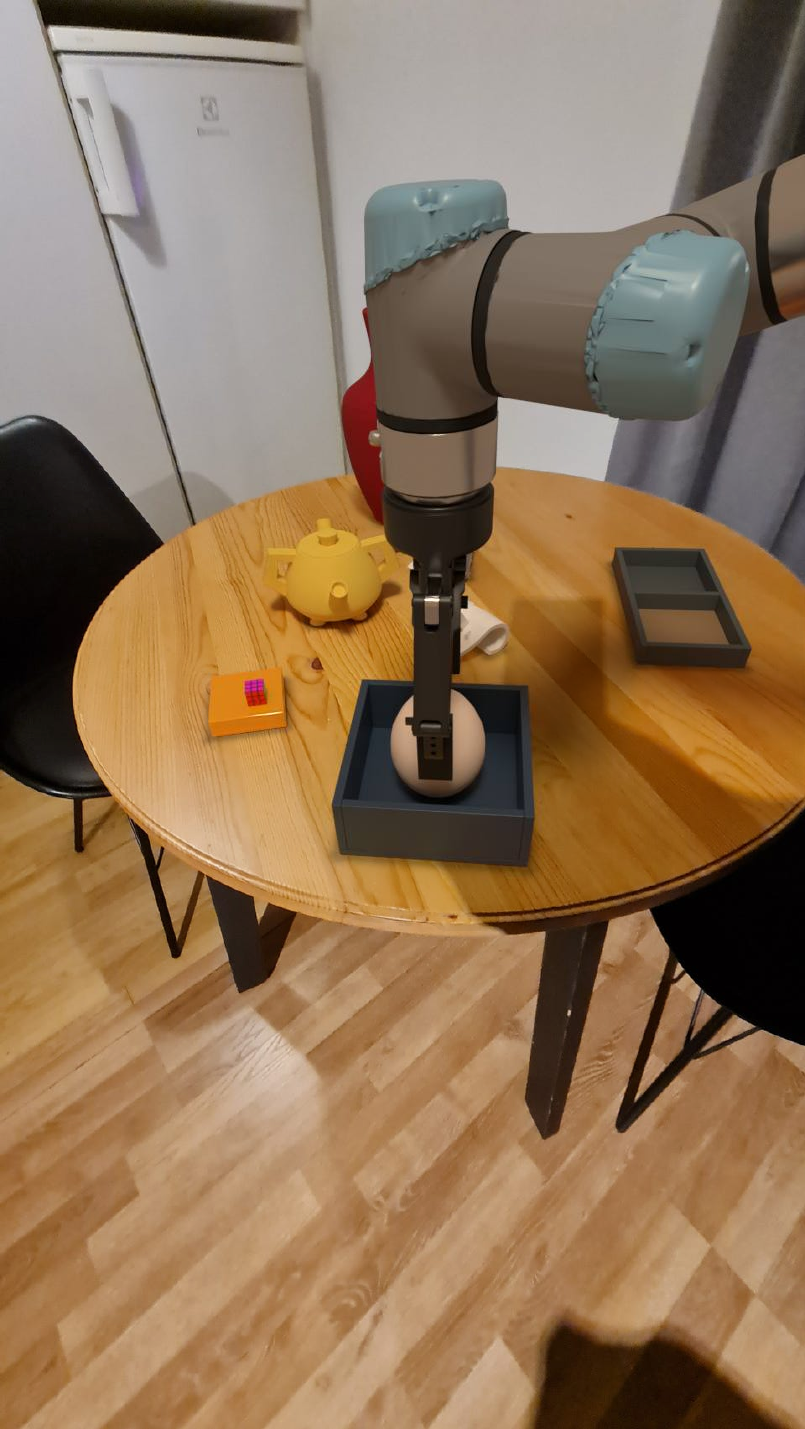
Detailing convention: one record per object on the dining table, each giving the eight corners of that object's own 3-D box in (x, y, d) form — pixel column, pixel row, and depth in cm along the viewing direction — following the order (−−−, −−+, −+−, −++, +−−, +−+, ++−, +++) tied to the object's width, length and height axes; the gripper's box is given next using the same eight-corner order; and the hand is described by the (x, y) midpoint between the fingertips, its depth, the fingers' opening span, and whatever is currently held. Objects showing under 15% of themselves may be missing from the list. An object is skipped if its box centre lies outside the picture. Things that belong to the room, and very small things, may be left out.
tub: (522, 734, 69) (528, 685, 64) (527, 867, 57) (534, 817, 52) (367, 727, 71) (362, 678, 66) (339, 854, 59) (331, 805, 54)
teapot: (415, 640, 82) (413, 561, 75) (273, 660, 80) (255, 581, 73) (388, 563, 97) (384, 490, 89) (267, 579, 95) (252, 505, 87)
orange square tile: (212, 737, 71) (202, 708, 68) (215, 690, 76) (206, 662, 74) (286, 727, 71) (280, 697, 68) (284, 681, 77) (278, 652, 74)
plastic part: (508, 647, 81) (516, 563, 73) (443, 677, 77) (445, 591, 69) (469, 619, 85) (474, 537, 77) (407, 646, 81) (405, 562, 73)
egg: (480, 751, 66) (485, 662, 59) (486, 819, 60) (492, 729, 52) (394, 752, 67) (388, 663, 59) (391, 819, 60) (384, 730, 53)
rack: (699, 566, 93) (704, 548, 91) (744, 668, 76) (752, 648, 74) (611, 564, 94) (615, 547, 92) (636, 664, 77) (641, 645, 75)
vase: (376, 548, 101) (361, 326, 80) (336, 512, 110) (313, 306, 90) (457, 524, 106) (462, 309, 85) (412, 492, 115) (407, 292, 95)
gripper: (401, 420, 53) (412, 636, 67) (349, 577, 34) (379, 830, 49) (495, 418, 52) (486, 638, 66) (493, 579, 34) (481, 836, 48)
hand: (441, 720), depth 57 cm, fingers open, 13 cm apart
